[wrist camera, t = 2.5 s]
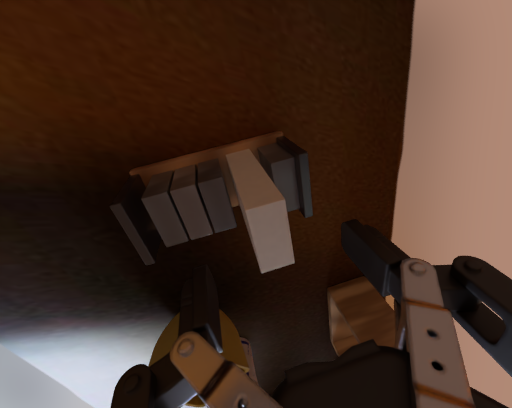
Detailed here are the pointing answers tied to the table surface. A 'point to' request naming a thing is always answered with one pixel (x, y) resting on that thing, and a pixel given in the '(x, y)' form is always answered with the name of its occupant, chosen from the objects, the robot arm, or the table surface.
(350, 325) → the birch stand
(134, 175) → the grey rack
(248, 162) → the white book
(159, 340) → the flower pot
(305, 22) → the table surface
